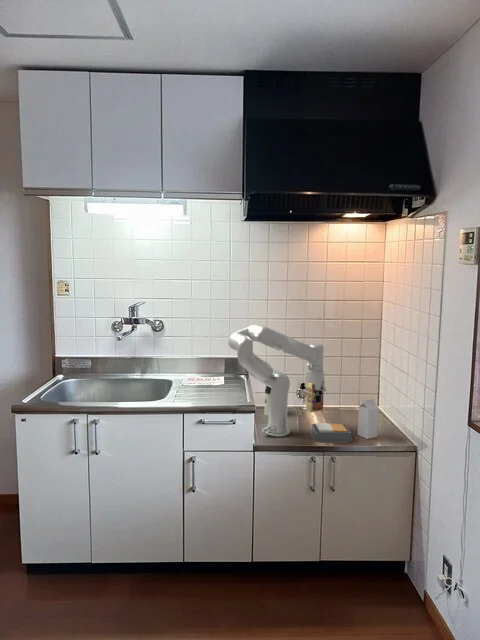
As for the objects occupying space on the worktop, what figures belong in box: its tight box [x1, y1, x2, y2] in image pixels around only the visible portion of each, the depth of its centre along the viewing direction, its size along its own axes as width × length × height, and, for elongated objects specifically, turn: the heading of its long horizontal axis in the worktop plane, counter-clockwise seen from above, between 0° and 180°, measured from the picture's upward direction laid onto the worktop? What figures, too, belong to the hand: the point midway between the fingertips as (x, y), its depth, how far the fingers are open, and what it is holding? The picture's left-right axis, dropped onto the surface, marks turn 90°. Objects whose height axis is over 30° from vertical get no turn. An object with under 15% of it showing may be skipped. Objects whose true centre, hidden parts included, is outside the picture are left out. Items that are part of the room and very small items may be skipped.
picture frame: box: [315, 422, 347, 432], centre depth 243 cm, size 14×10×2 cm
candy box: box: [305, 383, 325, 413], centre depth 255 cm, size 9×4×15 cm, turn 126°
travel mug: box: [263, 385, 271, 417], centre depth 276 cm, size 8×8×18 cm
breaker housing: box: [309, 423, 353, 443], centre depth 243 cm, size 19×13×4 cm
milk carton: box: [357, 398, 380, 440], centre depth 244 cm, size 7×7×19 cm
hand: (314, 400), depth 255 cm, fingers closed on candy box, 4 cm apart
